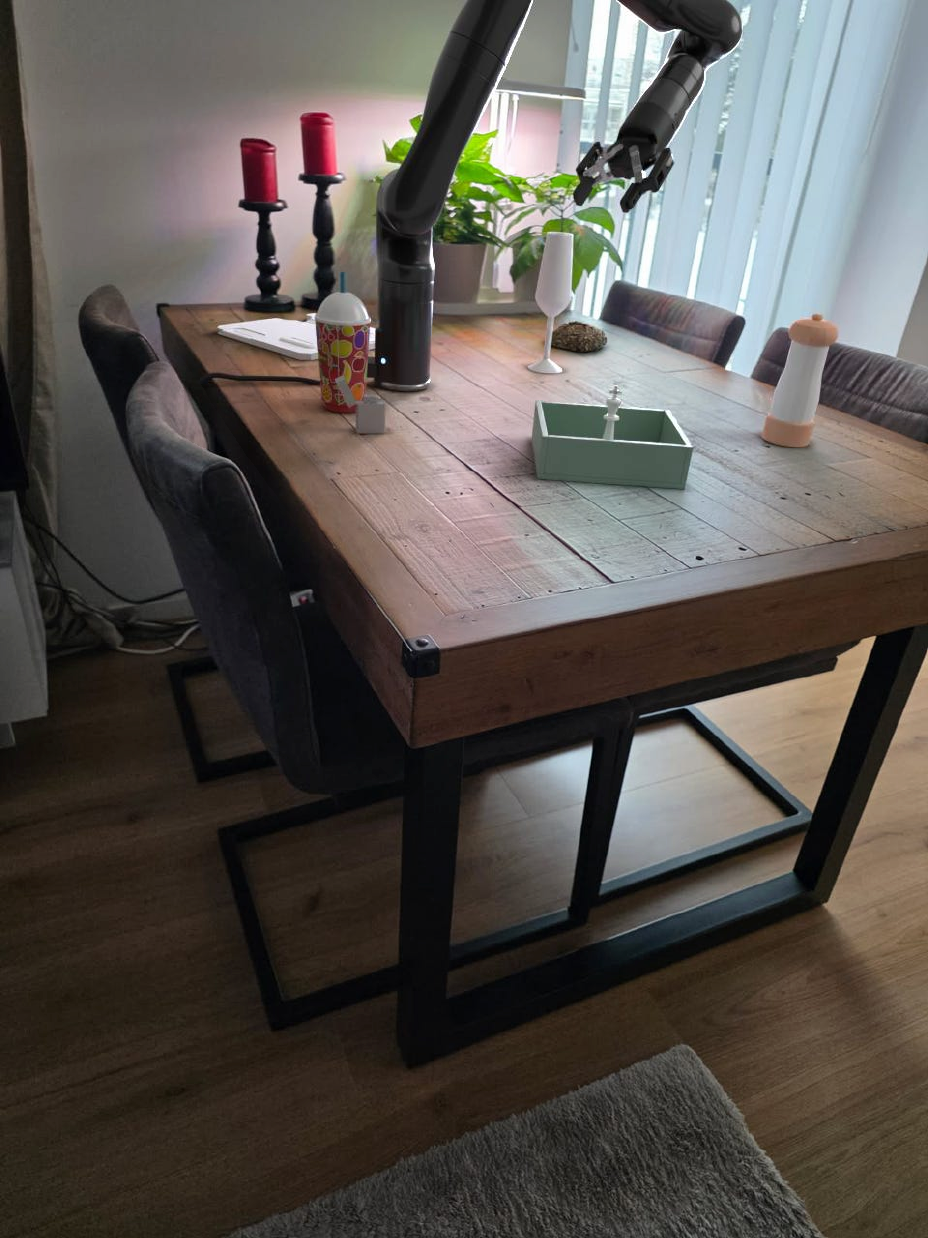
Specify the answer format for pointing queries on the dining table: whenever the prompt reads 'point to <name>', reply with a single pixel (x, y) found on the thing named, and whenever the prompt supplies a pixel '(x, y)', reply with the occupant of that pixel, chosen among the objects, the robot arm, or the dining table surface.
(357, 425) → the lighter
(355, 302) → the smoothie
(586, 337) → the bread roll
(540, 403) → the open box
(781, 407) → the pepper shaker
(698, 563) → the dining table surface
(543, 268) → the champagne flute
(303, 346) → the tray
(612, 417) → the chess piece
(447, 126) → the robot arm
